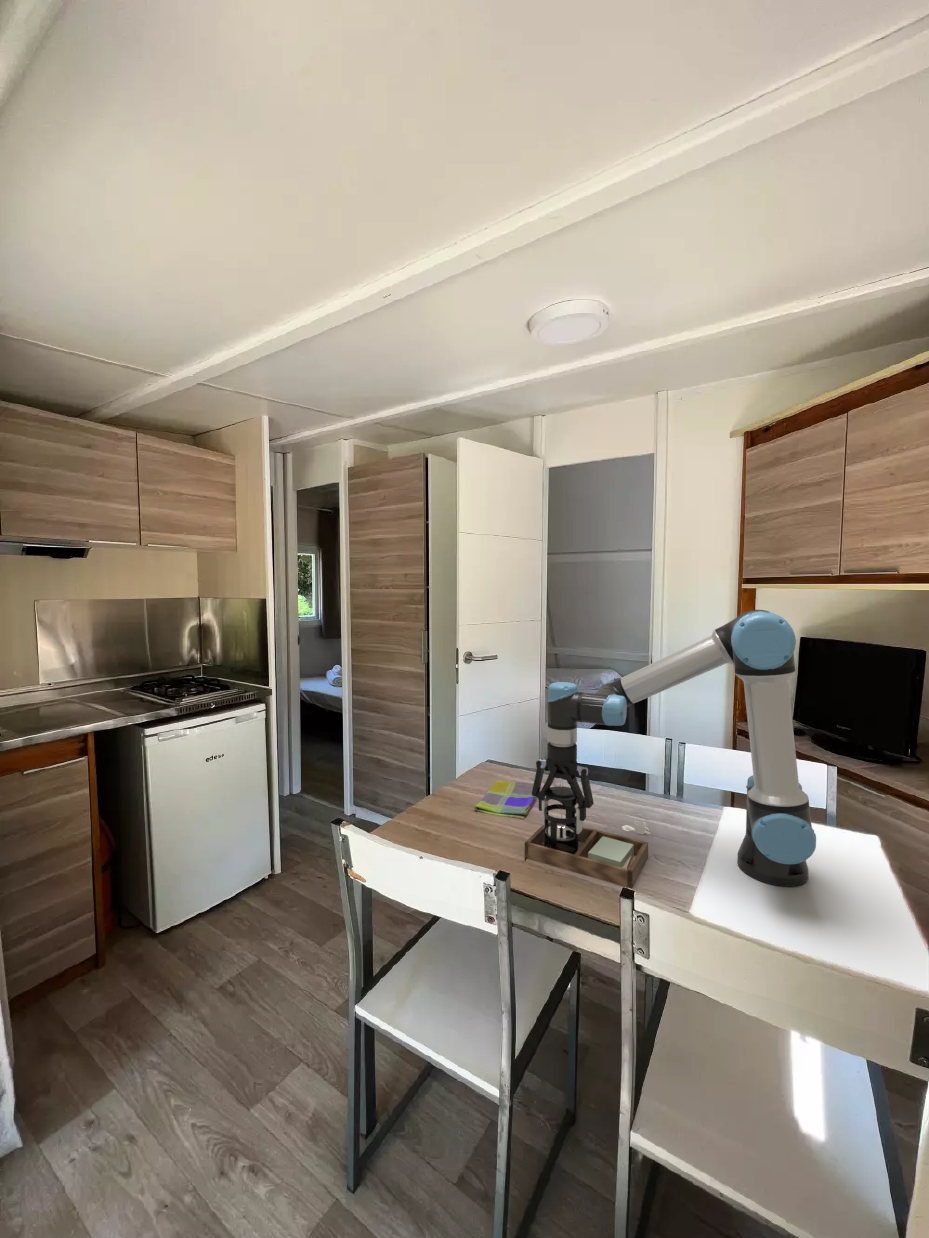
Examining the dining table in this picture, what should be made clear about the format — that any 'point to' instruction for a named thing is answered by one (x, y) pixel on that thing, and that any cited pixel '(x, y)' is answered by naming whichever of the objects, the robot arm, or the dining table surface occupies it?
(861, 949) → the dining table surface
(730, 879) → the dining table surface
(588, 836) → the walnut tray
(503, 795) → the dish towel
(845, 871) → the dining table surface
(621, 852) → the sage offcut top
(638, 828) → the teacup and saucer
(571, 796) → the french press
